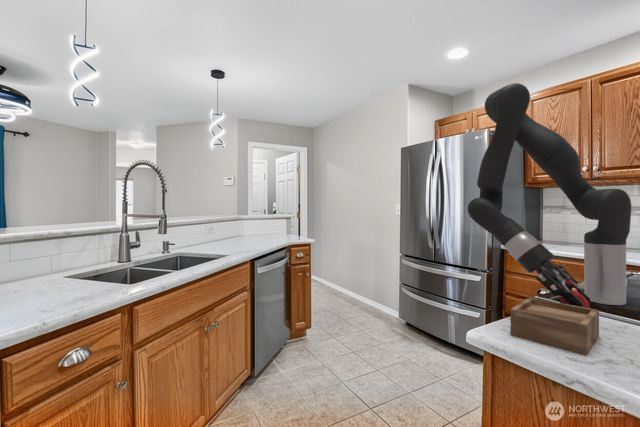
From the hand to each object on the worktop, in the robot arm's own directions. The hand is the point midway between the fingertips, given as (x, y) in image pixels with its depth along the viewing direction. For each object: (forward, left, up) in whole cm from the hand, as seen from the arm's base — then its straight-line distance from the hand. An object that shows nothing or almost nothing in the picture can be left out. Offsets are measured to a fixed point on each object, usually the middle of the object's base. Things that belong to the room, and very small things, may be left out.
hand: (583, 304), depth 76 cm
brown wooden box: (+15, -2, -5) cm, 16 cm away
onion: (0, -2, -4) cm, 5 cm away
